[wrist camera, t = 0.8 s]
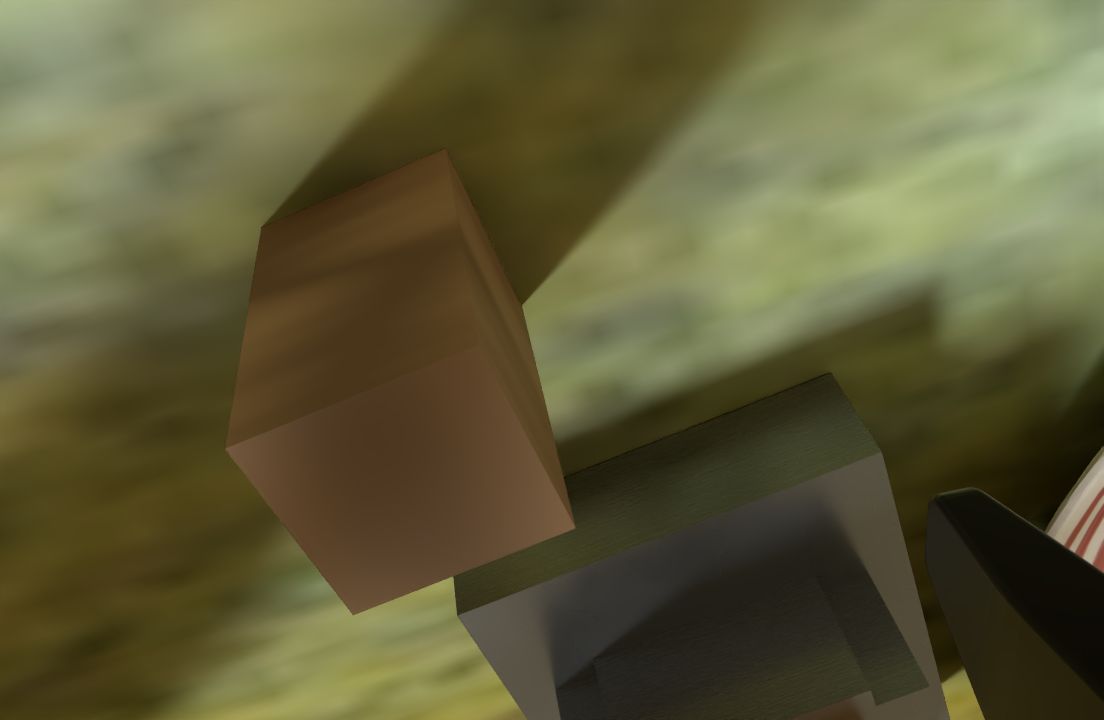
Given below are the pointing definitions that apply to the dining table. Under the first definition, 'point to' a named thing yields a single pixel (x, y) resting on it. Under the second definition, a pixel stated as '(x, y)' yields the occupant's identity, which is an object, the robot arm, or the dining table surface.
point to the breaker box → (719, 581)
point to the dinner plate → (1083, 515)
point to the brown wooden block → (394, 390)
